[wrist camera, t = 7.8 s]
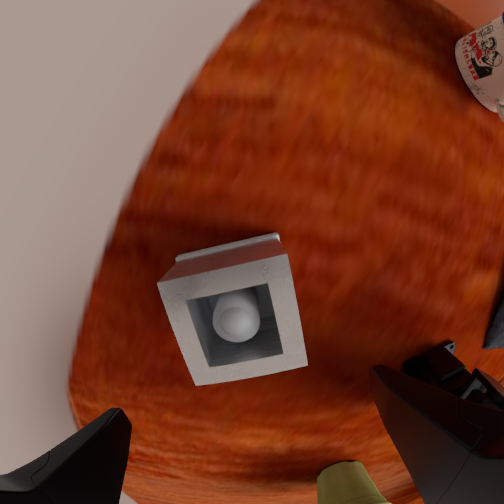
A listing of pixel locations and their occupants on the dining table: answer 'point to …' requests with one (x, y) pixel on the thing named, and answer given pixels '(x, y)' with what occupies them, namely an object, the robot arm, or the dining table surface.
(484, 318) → the dining table surface
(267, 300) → the shaft base
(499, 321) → the dark slate chunk
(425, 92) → the dining table surface
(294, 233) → the dining table surface
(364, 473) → the plant pot
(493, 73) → the teacup with lid
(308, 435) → the dining table surface
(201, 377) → the collar
